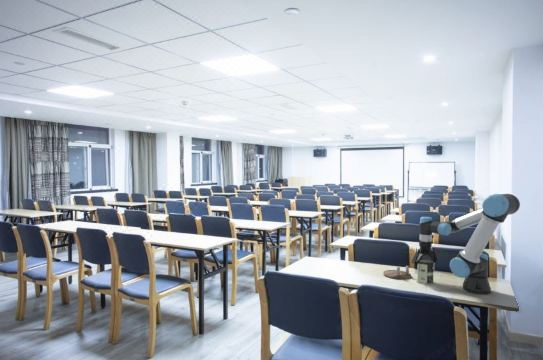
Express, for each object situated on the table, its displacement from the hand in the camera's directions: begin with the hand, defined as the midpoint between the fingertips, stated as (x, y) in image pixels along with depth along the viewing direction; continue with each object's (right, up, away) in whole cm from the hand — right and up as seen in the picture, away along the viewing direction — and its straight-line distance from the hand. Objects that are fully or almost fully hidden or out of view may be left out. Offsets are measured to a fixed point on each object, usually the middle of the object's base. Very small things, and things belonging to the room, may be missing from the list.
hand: (424, 272), depth 238 cm
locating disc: (-13, -6, +15) cm, 20 cm away
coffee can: (0, -6, 0) cm, 6 cm away
